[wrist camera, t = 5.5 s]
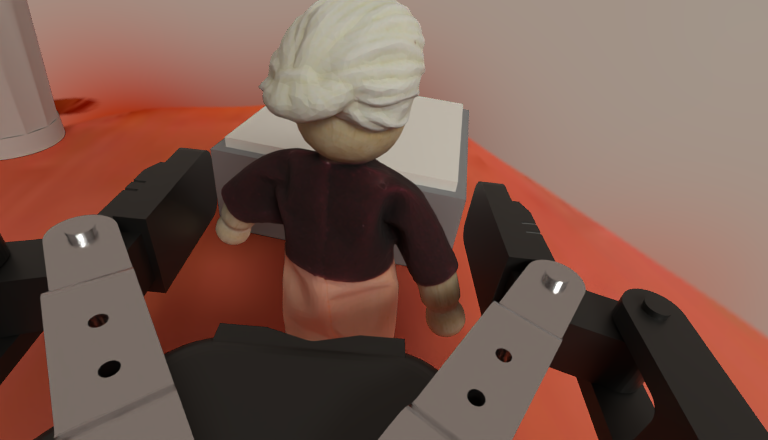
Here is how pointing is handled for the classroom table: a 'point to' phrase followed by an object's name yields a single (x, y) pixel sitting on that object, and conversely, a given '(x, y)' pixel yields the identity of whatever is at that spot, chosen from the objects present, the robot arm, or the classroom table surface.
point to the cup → (24, 87)
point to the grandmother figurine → (346, 177)
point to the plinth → (407, 156)
